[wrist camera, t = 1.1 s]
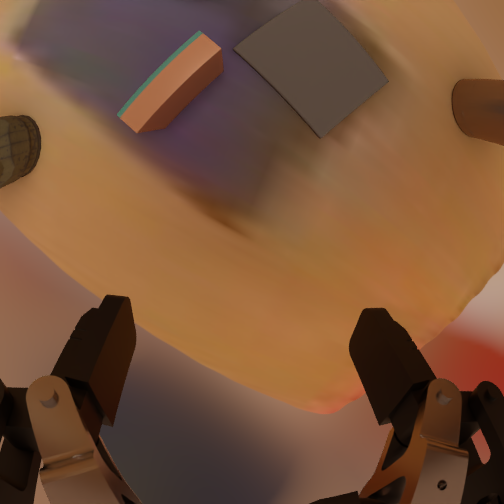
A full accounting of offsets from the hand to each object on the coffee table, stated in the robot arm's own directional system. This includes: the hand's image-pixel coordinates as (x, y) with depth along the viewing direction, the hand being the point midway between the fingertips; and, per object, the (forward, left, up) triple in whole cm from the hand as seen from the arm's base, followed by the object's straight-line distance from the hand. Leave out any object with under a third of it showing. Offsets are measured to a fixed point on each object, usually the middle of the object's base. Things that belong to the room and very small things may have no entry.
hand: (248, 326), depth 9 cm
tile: (-3, -11, -24) cm, 27 cm away
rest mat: (-16, -4, -24) cm, 29 cm away
